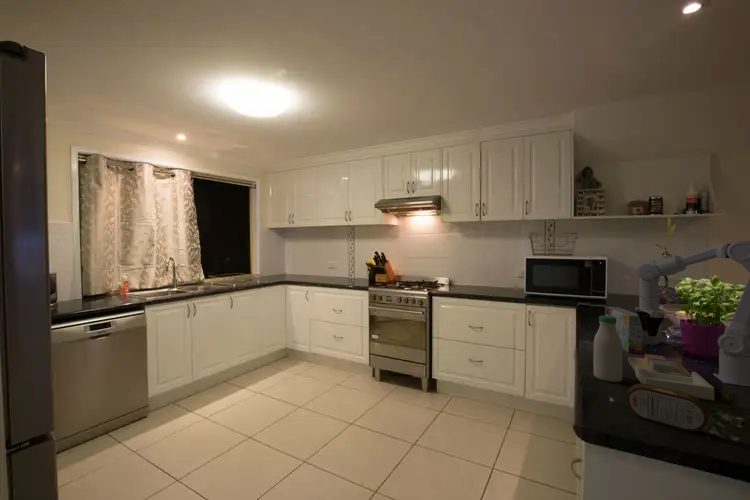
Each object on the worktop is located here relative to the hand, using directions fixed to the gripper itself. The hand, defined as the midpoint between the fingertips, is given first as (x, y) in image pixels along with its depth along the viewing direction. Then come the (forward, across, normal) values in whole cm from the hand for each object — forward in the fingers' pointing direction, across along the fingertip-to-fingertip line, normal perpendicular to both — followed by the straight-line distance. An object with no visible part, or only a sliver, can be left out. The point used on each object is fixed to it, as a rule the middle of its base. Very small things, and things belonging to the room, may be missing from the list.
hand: (649, 333), depth 123 cm
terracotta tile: (+8, +8, 0) cm, 11 cm away
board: (+10, +11, 0) cm, 15 cm away
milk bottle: (+11, +25, -16) cm, 31 cm away
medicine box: (+11, -29, +7) cm, 32 cm away
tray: (+10, +25, 0) cm, 27 cm away
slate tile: (+8, +14, 0) cm, 16 cm away
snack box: (+11, -19, -5) cm, 22 cm away
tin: (+11, +52, -8) cm, 54 cm away
